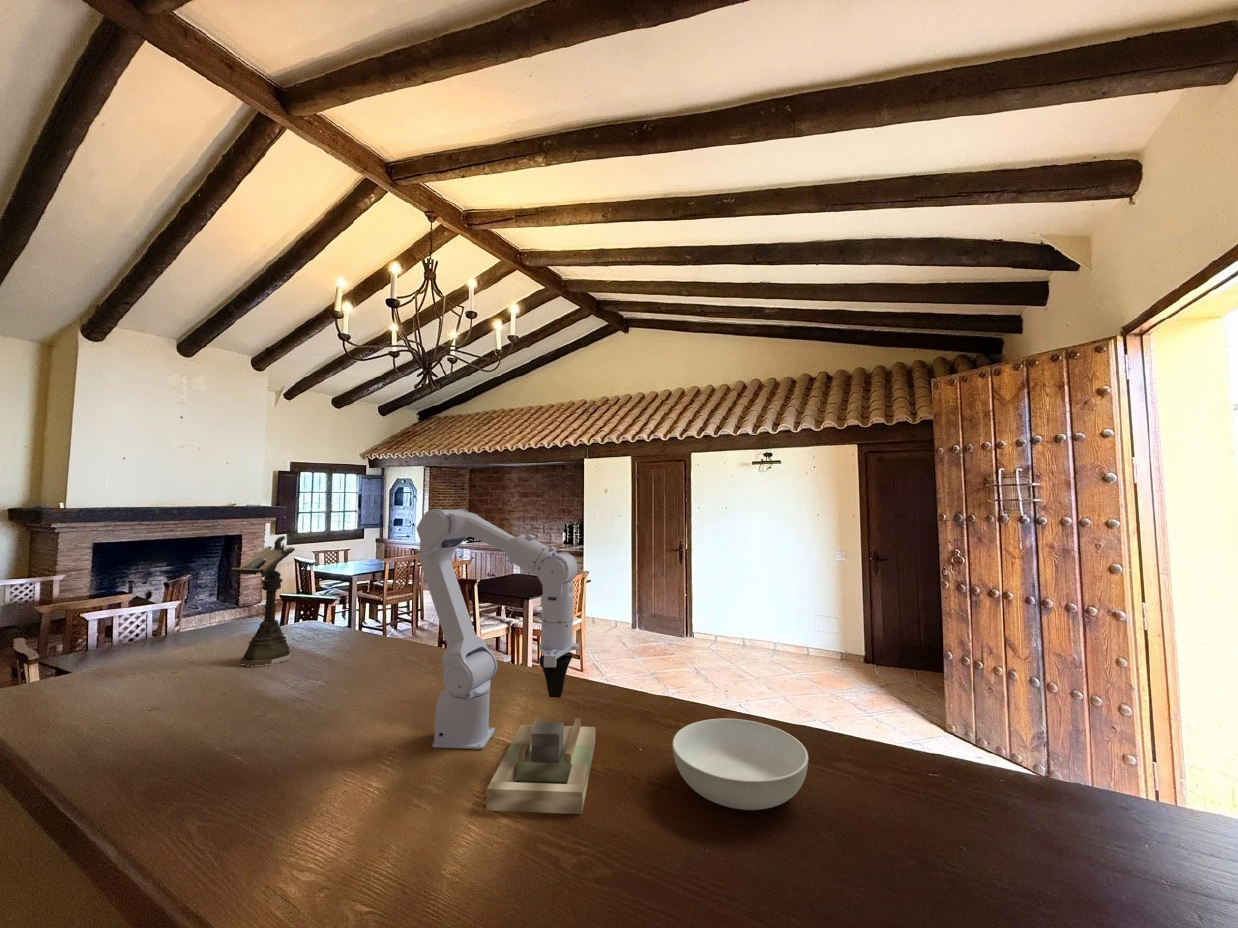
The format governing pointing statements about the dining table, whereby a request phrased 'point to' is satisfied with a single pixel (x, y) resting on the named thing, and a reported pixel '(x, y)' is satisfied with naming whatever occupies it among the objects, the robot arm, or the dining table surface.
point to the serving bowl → (740, 762)
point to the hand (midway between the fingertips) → (555, 696)
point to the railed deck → (543, 774)
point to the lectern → (267, 607)
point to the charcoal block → (547, 742)
